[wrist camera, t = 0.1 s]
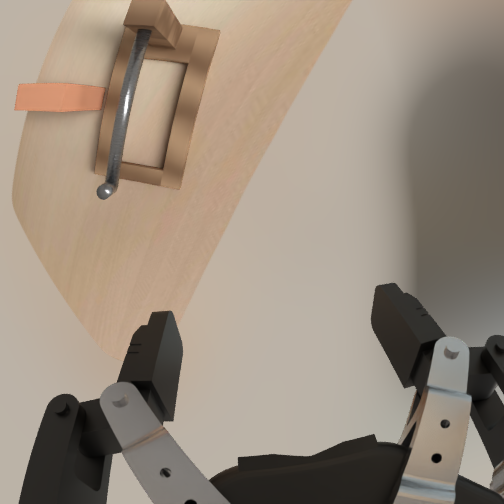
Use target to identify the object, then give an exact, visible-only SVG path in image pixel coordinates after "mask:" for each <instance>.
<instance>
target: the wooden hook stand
mask: <svg viewBox="0 0 504 504" xmlns="http://www.w3.org/2000/svg"><path fill="white" fill-rule="evenodd" d="M123 25H125V26H126V28H125V31H124V34H123V37H122V41H121V44H120V47H119V51H118V54H117V58H116V61H115V65H114V69H113V73H112V77H111V81H110V85H109V89H108V94H107V98H106V103H105V108H104V113H103V118H102V124H101V130H100V136H99V142H98V149H97V156H96V164H95V173H94V174H98V175H104V176H106V171H107V164H108V156H109V150H110V143H111V137H112V132H113V126H114V121H115V116H116V111H117V106H118V101H119V97H120V92H121V88H122V84H123V80H124V76H125V72H126V68H127V64H128V61H129V57H130V54H131V50H132V47H133V43H134V40H135V37H136V34H137V31H138V29H147V30H151V31H152V33H151V36H150V39H149V42H148V46H147V49H146V52H145V56H144V59H154V60H163V61H171V62H178V63H185V64H188V67H187V70H186V74H185V78H184V81H183V85H182V89H181V93H180V96H179V100H178V104H177V108H176V113H175V117H174V121H173V125H172V130H171V134H170V139H169V144H168V148H167V153H166V158H165V163H164V169H161V168H156V167H151V166H145V165H140V164H134V163H128V162H122V161H121V168H120V175H119V178H120V179H126V180H131V181H137V182H142V183H147V184H152V185H157V186H162V187H167V188H172V189H177V190H179V189H180V188H181V183H182V178H183V174H184V169H185V164H186V159H187V155H188V150H189V146H190V142H191V137H192V133H193V129H194V125H195V121H196V117H197V113H198V109H199V105H200V101H201V97H202V93H203V90H204V86H205V82H206V79H207V75H208V72H209V68H210V65H211V62H212V58H213V55H214V52H215V48H216V45H217V42H218V39H219V36H220V30H215V29H209V28H203V27H196V26H189V25H181V24H180V23H179V21H178V20H177V18H176V16H175V15H174V13H173V12H172V10H171V8H170V7H169V5H168V4H167V2H166V0H132V1H131V4H130V7H129V9H128V12H127V15H126V18H125V20H124V23H123Z"/></svg>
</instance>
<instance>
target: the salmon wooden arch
mask: <svg viewBox="0 0 504 504" xmlns="http://www.w3.org/2000/svg"><path fill="white" fill-rule="evenodd" d="M105 89H106V88H102V87H95V86H86V85H77V84H67V83H33V84H19V86H18V91H17V97H16V104H15V109H14V110H28V111H53V112H67V111H82V110H101V108H102V103H103V98H104V93H105Z"/></svg>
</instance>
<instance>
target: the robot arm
mask: <svg viewBox="0 0 504 504" xmlns="http://www.w3.org/2000/svg"><path fill="white" fill-rule="evenodd" d="M371 324H372V328H373V331H374V333H375V334H376V336H377V338H378V340H379V342H380V343H381V345H382V347H383V349H384V351H385V353H386V354H387V356H388V358H389V360H390V362H391V364H392V366H393V368H394V370H395V371H396V373H397V375H398V377H399V379H400V381H401V383H402V385H403V387H404V388H408V387H411V386H414V385H415V387H416V389H417V390H416V392H415V395H414V398H413V402H412V405H411V408H410V412H409V415H408V418H407V421H406V424H405V427H404V430H403V432H402V435H401V437H400V439H399V442H398V443H397V444H395V443H390V442H377V440H376V437H375V435H374V434H373V435H369V436H365V437H361V438H357V439H353V440H349V441H345V442H342V443H340V444H337V445H336V446H333V447H331V448H329V449H327V450H324V451H322V452H320V453H317V454H315V455H312V456H290V455H277V454H269V455H260V456H249V457H238V466H235V467H232V468H229V469H226V470H224V471H222V472H220V473H218V474H217V475H215V476H214V477H212V478H211V479H210V480H207V478H205V476H204V475H203V474H202V473H201V472H200V470H199V469H198V468H197V467H196V466H195V465H194V463H193V462H192V461H191V460H190V459H189V457H188V456H187V455H186V454H185V453H184V452H183V450H182V449H181V448H180V446H179V445H178V444H177V443H176V441H175V440H174V439H173V437H172V436H171V435H170V434H169V432H168V431H167V430H166V429H165V428H164V427H163V422H164V421H173V420H174V411H175V404H176V397H177V390H178V383H179V375H180V370H181V363H182V356H183V346H182V340H181V337H180V334H179V331H178V328H177V325H176V321H175V318H174V315H173V313H172V311H160V312H152V314H151V316H150V319H149V322H148V325H141V326H140V327H139V329H138V330H137V331H136V332H135V333H134V334H133V337H132V339H131V342H130V346H129V348H128V351H127V354H126V356H125V359H124V362H123V365H122V368H121V371H120V374H119V377H118V380H117V383H114V384H112V385H110V386H109V387H107V388H106V389H105V390H104V391H103V393H102V394H101V397H100V398H99V399H95V400H90V401H86V402H81V403H79V401H78V400H77V399H76V398H75V397H74V396H73V395H70V394H61V395H58V396H56V397H55V398H53V399H52V400H51V401H50V402H49V404H48V406H47V408H46V411H45V413H44V417H43V419H42V422H41V425H40V428H39V431H38V434H37V437H36V440H35V443H34V446H33V449H32V453H31V456H30V460H29V463H28V467H27V471H26V474H25V479H24V482H23V487H22V491H21V495H20V500H19V504H106V502H107V493H108V485H109V477H110V469H111V463H112V456H113V454H116V453H121V452H122V454H123V456H124V458H125V460H126V461H127V463H128V465H129V467H130V468H131V470H132V471H133V473H134V475H135V476H136V478H137V479H138V481H139V483H140V484H141V486H142V487H143V489H144V490H145V492H146V493H147V494H148V496H149V497H150V499H151V500H152V502H153V503H154V504H504V405H503V403H502V401H501V399H500V398H499V396H498V394H497V392H496V391H495V388H496V387H497V385H498V386H499V387H500V389H501V391H502V392H503V394H504V336H501V335H494V336H491V337H489V338H488V340H487V342H486V344H485V346H484V347H468V346H467V345H466V344H465V343H464V342H463V341H462V340H460V339H458V338H455V337H447V336H446V335H445V334H444V332H443V331H442V330H441V328H440V327H439V326H438V325H437V323H436V322H435V321H434V319H433V318H432V317H431V316H430V315H429V314H428V312H427V311H426V309H425V308H423V306H422V304H421V303H420V302H419V301H418V300H417V299H416V298H415V297H413V296H412V295H410V294H408V293H403V292H402V291H401V289H400V288H399V287H398V286H397V284H395V283H389V284H384V285H378V286H376V288H375V294H374V301H373V307H372V314H371ZM469 416H471V418H472V420H473V422H474V424H475V427H476V429H477V431H478V433H479V435H480V437H481V439H482V442H483V444H484V446H485V448H486V450H487V453H488V455H489V458H490V460H491V462H492V465H493V467H494V472H493V475H492V481H491V483H490V489H488V488H486V487H484V486H482V485H480V484H477V483H475V482H473V481H471V480H469V479H467V478H465V477H463V476H461V475H459V474H458V473H459V469H460V465H461V460H462V456H463V451H464V446H465V441H466V436H467V430H468V424H469Z"/></svg>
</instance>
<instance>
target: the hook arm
mask: <svg viewBox="0 0 504 504" xmlns="http://www.w3.org/2000/svg"><path fill="white" fill-rule="evenodd" d="M151 33H152V31H151V30H147V29H138V31H137V34H136V37H135V40H134V43H133V47H132V50H131V54H130V57H129V61H128V64H127V68H126V72H125V76H124V80H123V84H122V88H121V92H120V97H119V101H118V106H117V111H116V116H115V121H114V126H113V132H112V137H111V143H110V150H109V156H108V164H107V171H106V180H105V183H104V184H102V185H101V186H99V187H98V188H97V196H98V197H99V198H100V199H103V200H104V199H107V198H108V197H109V196H111V195H112V194H113V193H115V192H116V191H117V188H118V183H119V175H120V168H121V161H122V155H123V149H124V143H125V137H126V132H127V126H128V121H129V116H130V112H131V107H132V103H133V98H134V94H135V90H136V86H137V82H138V78H139V74H140V70H141V66H142V63H143V59H144V56H145V52H146V49H147V46H148V42H149V39H150V36H151Z"/></svg>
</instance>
